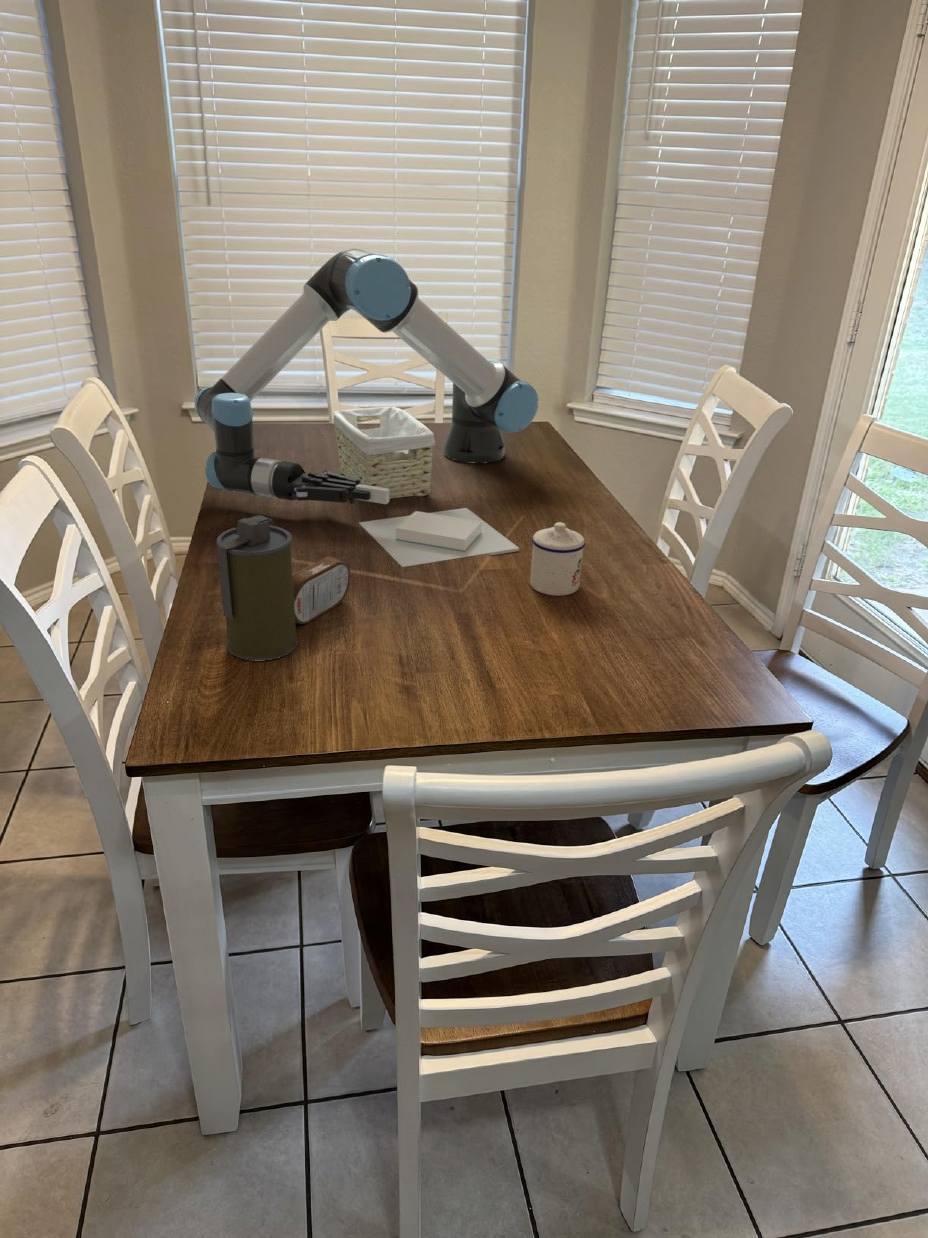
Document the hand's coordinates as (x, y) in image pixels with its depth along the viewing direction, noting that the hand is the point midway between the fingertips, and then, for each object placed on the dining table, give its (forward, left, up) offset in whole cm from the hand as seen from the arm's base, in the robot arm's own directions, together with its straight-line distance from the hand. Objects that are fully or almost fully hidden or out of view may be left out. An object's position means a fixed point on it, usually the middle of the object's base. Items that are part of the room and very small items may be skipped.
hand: (387, 496), depth 171 cm
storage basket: (-9, -26, -8) cm, 29 cm away
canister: (+34, +36, -7) cm, 50 cm away
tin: (+23, +29, -7) cm, 38 cm away
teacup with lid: (-19, +33, -7) cm, 38 cm away
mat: (-8, +7, -7) cm, 12 cm away
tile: (-3, +3, -5) cm, 7 cm away
